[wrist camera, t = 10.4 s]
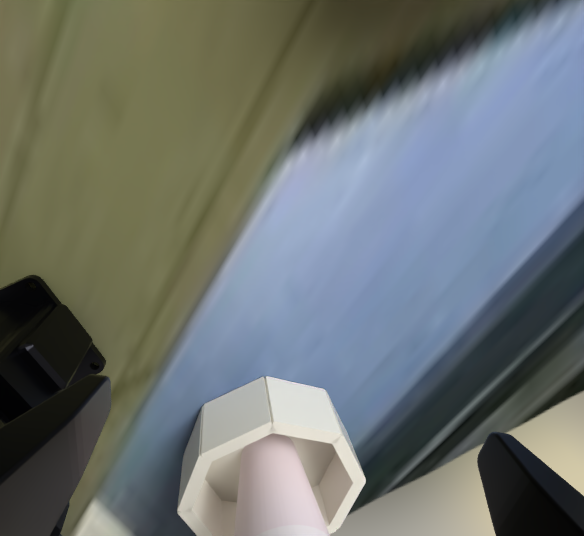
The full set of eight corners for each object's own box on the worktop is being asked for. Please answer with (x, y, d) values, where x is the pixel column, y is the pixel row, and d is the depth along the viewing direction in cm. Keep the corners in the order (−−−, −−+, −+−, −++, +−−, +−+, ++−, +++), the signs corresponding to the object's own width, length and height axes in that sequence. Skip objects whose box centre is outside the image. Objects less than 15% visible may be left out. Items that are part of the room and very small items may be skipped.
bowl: (232, 520, 29) (234, 578, 25) (158, 425, 25) (147, 479, 21) (360, 459, 29) (381, 509, 25) (308, 355, 25) (323, 396, 21)
